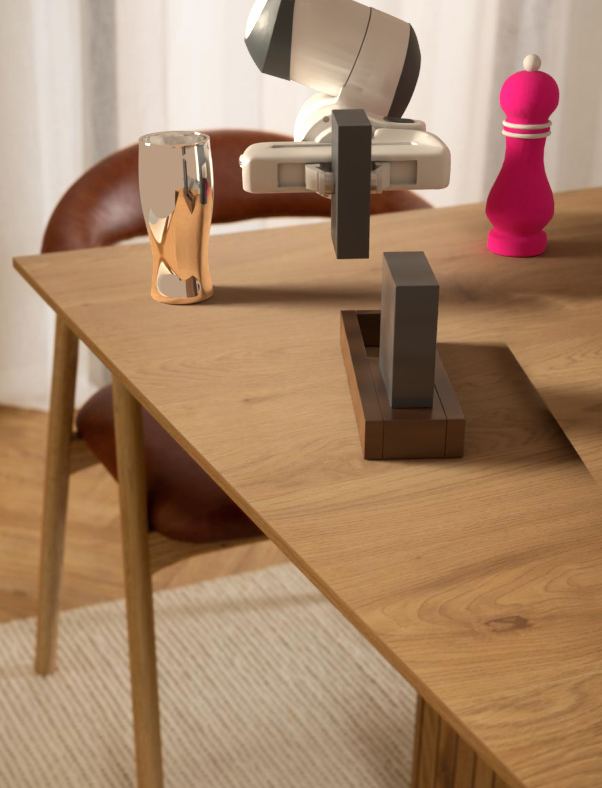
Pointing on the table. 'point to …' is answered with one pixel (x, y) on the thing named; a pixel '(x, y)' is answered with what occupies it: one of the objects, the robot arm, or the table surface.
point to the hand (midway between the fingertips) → (351, 185)
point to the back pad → (351, 183)
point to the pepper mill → (523, 164)
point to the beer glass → (177, 212)
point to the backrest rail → (396, 421)
